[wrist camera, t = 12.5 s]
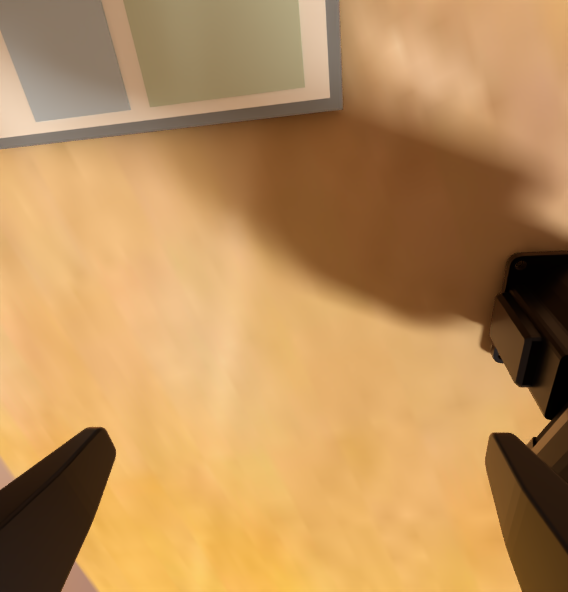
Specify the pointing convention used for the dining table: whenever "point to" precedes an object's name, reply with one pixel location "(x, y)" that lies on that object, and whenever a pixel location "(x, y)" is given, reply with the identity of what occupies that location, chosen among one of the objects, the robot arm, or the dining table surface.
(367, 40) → the dining table surface
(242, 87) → the picture board
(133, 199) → the dining table surface
